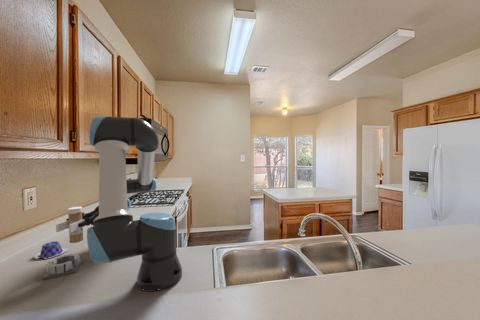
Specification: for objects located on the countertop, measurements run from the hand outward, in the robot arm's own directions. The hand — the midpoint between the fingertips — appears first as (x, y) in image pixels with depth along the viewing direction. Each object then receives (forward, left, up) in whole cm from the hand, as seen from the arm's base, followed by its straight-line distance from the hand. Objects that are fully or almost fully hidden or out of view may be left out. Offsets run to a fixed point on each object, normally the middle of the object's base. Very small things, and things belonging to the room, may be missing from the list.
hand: (63, 228), depth 78 cm
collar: (+8, +2, -19) cm, 20 cm away
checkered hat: (+30, +11, -19) cm, 37 cm away
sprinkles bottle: (+5, -3, -7) cm, 9 cm away
